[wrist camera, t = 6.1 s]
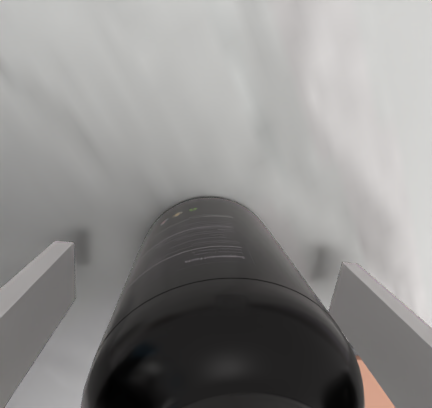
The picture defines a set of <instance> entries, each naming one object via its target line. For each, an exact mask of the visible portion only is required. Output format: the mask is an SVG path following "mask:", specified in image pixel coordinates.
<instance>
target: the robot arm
mask: <svg viewBox="0 0 432 408" xmlns="http://www.w3.org/2000/svg"><path fill="white" fill-rule="evenodd" d="M75 299H76V297H75V256H74V242H64V241H54V242H53V243H52V244H51V245H49V246H48V247H47V248H46V249H45V250H44V251H43V252H41V253H40V254H39V255H38V256H37V257H36V258H35V259H33V260H32V261H31V262H30V263H29V264H28V265H27V266H25V267H24V268H23V269H22V270H21V271H20V272H19V273H17V274H16V275H15V276H14V277H13V278H12V279H11V280H9V281H8V282H7V283H6V284H5V285H4V286H3V287H1V288H0V408H4V407H5V406H6V404H7V402H8V401H9V399H10V398H11V396H12V395H13V393H14V392H15V390H16V389H17V387H18V386H19V384H20V383H21V381H22V380H23V378H24V377H25V375H26V374H27V372H28V371H29V369H30V367H31V366H32V364H33V363H34V361H35V360H36V358H37V357H38V355H39V354H40V352H41V351H42V349H43V348H44V346H45V345H46V343H47V342H48V340H49V339H50V337H51V336H52V334H53V332H54V331H55V329H56V328H57V326H58V325H59V323H60V322H61V320H62V319H63V317H64V316H65V314H66V313H67V311H68V310H69V308H70V307H71V305H72V304H73V302H74V301H75ZM328 313H329V314H330V315H331V317H332V318H333V319H334V321H335V322H336V324H337V325H338V327H339V328H340V330H341V331H342V332H343V334H344V335H345V337H346V338H347V340H348V341H349V342H350V344H351V345H352V347H353V348H354V349H355V351H356V352H357V354H358V355H359V357H360V358H361V359H362V361H363V362H364V364H365V365H366V367H367V368H368V369H369V371H370V372H371V374H372V375H373V376H374V378H375V379H376V381H377V382H378V384H379V385H380V386H381V388H382V389H383V391H384V392H385V394H386V395H387V396H388V398H389V399H390V401H391V402H392V403H393V405H394V406H395V408H432V328H431V327H430V326H429V325H428V324H427V323H425V322H424V321H423V320H422V319H421V318H420V317H419V316H417V315H416V314H415V313H414V312H413V311H412V310H411V309H409V308H408V307H407V306H406V305H405V304H404V303H403V302H401V301H400V300H399V299H398V298H397V297H396V296H394V295H393V294H392V293H391V292H390V291H389V290H388V289H386V288H385V287H384V286H383V285H382V284H381V283H380V282H378V281H377V280H376V279H375V278H374V277H373V276H371V275H370V274H369V273H368V272H367V271H366V270H365V269H363V268H362V267H361V266H360V265H359V264H358V263H346V262H342V265H341V268H340V272H339V276H338V279H337V283H336V286H335V290H334V294H333V297H332V301H331V304H330V308H329V312H328Z"/></svg>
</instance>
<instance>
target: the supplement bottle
mask: <svg viewBox="0 0 432 408" xmlns="http://www.w3.org/2000/svg"><path fill="white" fill-rule="evenodd" d="M81 408H365V396H364V387H363V380H362V376H361V371H360V367H359V364H358V362H357V359H356V356H355V354H354V352H353V350H352V348H351V346H350V344H349V342H348V341H347V339H346V337H345V336H344V334H343V333H342V331H341V330H340V328H339V327H338V325H337V324H336V322H335V321H334V319H333V318H332V317H331V315H330V314H329V313H328V311H327V310H326V308H325V307H324V306H323V304H322V303H321V302H320V300H319V299H318V297H317V296H316V295H315V293H314V292H313V291H312V289H311V288H310V286H309V285H308V284H307V282H306V281H305V280H304V278H303V277H302V275H301V274H300V273H299V271H298V270H297V269H296V267H295V266H294V264H293V263H292V262H291V260H290V259H289V258H288V256H287V255H286V253H285V252H284V251H283V249H282V248H281V247H280V245H279V244H278V243H277V241H276V240H275V238H274V237H273V236H272V234H271V233H270V232H269V230H268V229H267V228H266V226H265V225H264V224H263V223H262V221H261V220H260V219H259V218H258V217H257V216H256V215H255V214H254V213H253V212H251V211H250V210H249V209H247V208H246V207H244V206H242V205H240V204H238V203H236V202H233V201H230V200H226V199H222V198H213V197H206V198H197V199H192V200H188V201H185V202H182V203H180V204H178V205H176V206H174V207H172V208H171V209H169V210H168V211H166V212H165V213H164V214H163V215H162V216H160V217H159V218H158V219H157V221H156V222H155V223H154V224H153V225H152V227H151V228H150V230H149V231H148V233H147V235H146V237H145V239H144V241H143V243H142V245H141V248H140V250H139V252H138V255H137V257H136V260H135V262H134V264H133V267H132V269H131V272H130V274H129V276H128V279H127V281H126V283H125V286H124V288H123V291H122V293H121V295H120V298H119V300H118V303H117V305H116V307H115V310H114V312H113V315H112V317H111V319H110V322H109V324H108V326H107V329H106V331H105V334H104V336H103V338H102V341H101V343H100V346H99V348H98V350H97V353H96V355H95V358H94V360H93V363H92V366H91V369H90V372H89V375H88V378H87V381H86V384H85V387H84V391H83V396H82V402H81Z"/></svg>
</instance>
